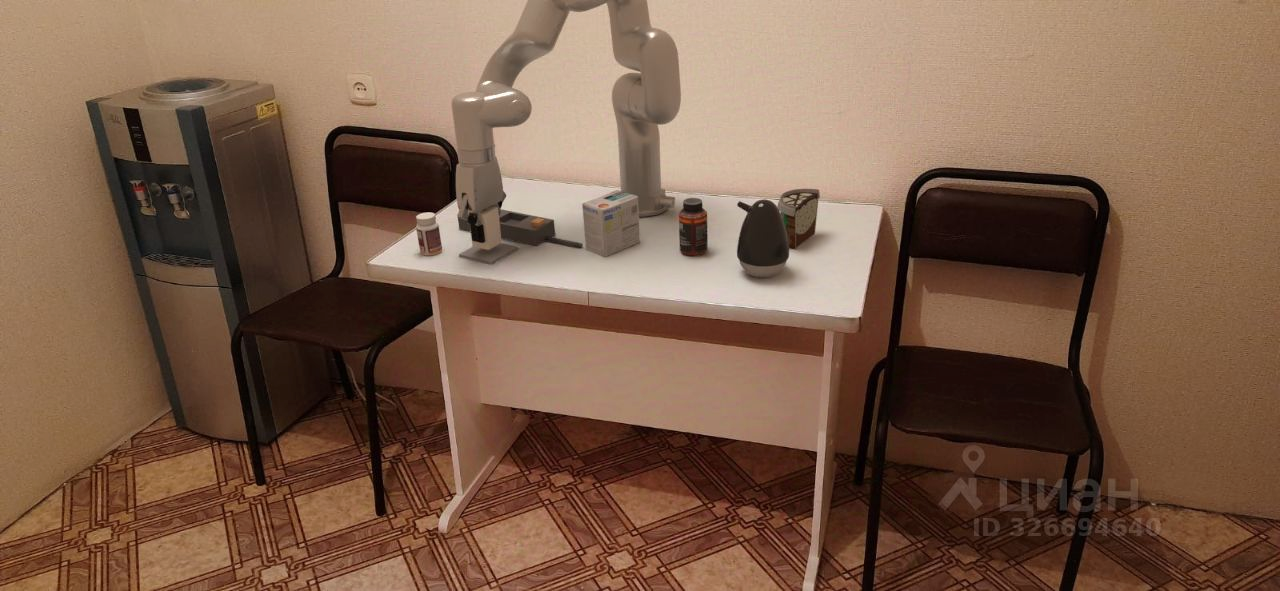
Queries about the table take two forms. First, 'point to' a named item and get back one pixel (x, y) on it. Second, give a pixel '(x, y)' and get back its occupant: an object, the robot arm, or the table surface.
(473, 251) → the grey mat
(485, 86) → the robot arm
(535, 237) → the power strip
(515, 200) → the table surface
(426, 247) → the pill bottle
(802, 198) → the food container
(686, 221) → the supplement bottle
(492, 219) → the block
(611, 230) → the light bulb box
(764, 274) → the pump dispenser
